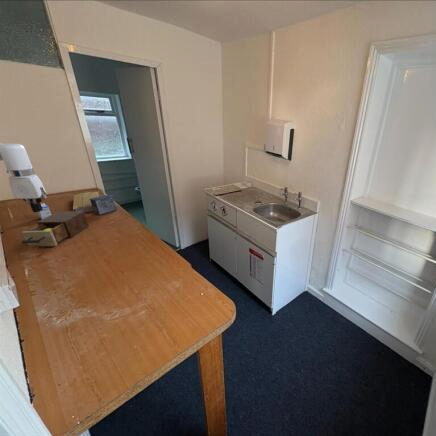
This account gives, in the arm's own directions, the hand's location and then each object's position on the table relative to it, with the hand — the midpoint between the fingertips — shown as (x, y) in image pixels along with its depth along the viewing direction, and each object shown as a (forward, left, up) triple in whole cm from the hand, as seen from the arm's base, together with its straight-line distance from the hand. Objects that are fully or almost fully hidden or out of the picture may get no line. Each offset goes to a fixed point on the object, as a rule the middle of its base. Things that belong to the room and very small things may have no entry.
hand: (38, 211), depth 110 cm
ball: (0, 0, -15) cm, 15 cm away
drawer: (0, -1, -16) cm, 16 cm away
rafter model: (+15, +57, -17) cm, 61 cm away
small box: (+24, +34, -17) cm, 45 cm away
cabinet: (+6, +10, -17) cm, 21 cm away
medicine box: (-5, +40, -17) cm, 44 cm away
